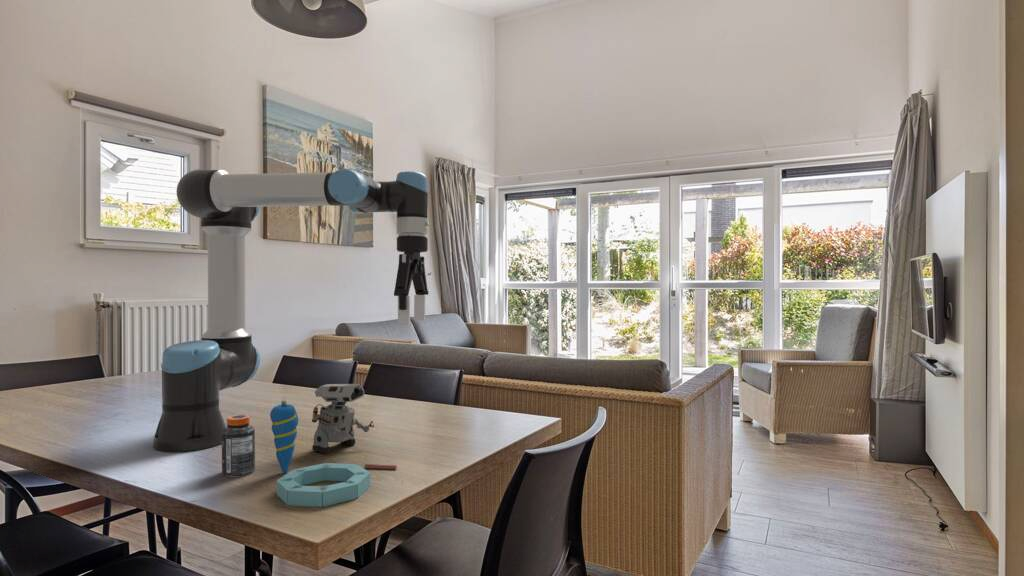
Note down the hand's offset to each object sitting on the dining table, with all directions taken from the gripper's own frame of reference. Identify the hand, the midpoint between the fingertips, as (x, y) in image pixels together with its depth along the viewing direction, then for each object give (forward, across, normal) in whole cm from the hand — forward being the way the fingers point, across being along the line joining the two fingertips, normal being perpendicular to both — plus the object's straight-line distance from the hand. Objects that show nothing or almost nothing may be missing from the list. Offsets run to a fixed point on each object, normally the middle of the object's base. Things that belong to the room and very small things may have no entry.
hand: (412, 322), depth 142 cm
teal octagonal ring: (+28, -38, +5) cm, 48 cm away
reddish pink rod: (+28, -25, -1) cm, 38 cm away
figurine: (+28, -13, +13) cm, 34 cm away
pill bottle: (+28, -31, +26) cm, 50 cm away
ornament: (+28, -30, +17) cm, 45 cm away
